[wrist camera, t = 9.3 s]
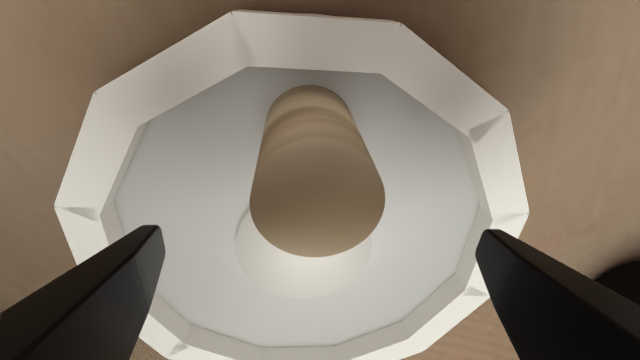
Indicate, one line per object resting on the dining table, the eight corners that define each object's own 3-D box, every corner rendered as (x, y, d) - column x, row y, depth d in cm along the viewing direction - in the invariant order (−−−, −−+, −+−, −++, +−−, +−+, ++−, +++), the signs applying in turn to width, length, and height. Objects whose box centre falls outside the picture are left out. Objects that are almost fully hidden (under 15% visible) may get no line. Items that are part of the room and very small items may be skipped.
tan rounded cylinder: (347, 167, 18) (374, 257, 12) (266, 165, 18) (251, 257, 12) (357, 86, 16) (396, 146, 10) (264, 82, 16) (246, 141, 9)
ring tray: (442, 346, 29) (454, 376, 26) (139, 354, 26) (125, 387, 24) (568, 31, 16) (610, 37, 14) (19, -8, 14) (-32, -7, 12)
